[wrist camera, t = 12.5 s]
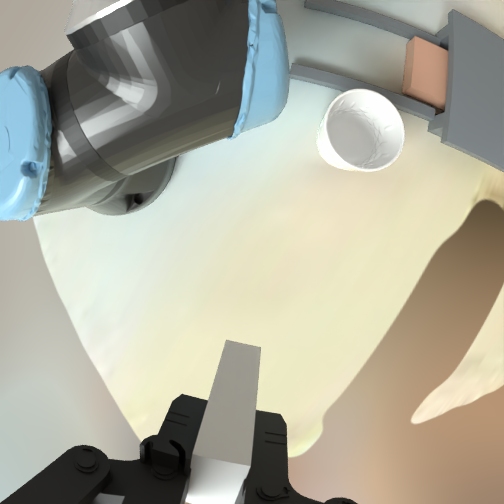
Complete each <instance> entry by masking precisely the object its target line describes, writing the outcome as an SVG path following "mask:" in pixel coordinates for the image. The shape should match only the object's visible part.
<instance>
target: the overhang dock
mask: <svg viewBox="0 0 504 504" xmlns="http://www.w3.org/2000/svg"><path fill="white" fill-rule="evenodd" d="M305 7H306V8H311V9H315V10H320V11H324V12H328V13H332V14H336V15H339V16H343V17H347V18H350V19H353V20H357V21H360V22H363V23H366V24H370V25H373V26H376V27H378V28H381V29H384V30H387V31H390V32H392V33H395V34H398V35H400V36H403V37H405V38H408V39H410V40H411V39H412V38H413V37H414V36H416V37H419V38H421V39H423V40H426V41H428V42H430V43H432V44H434V45H437V46H439V47H441V48H443V49H445V50H447V51H448V76H447V91H446V103H445V112H444V113H441V114H438V115H436V116H435V109H434V108H432V107H430V106H427V105H425V104H423V103H420V102H418V101H415V100H413V99H410V98H408V97H405V96H402V95H400V94H397V93H394V92H392V91H389V90H386V89H383V88H380V87H377V86H374V85H371V84H368V83H365V82H362V81H359V80H355V79H352V78H349V77H345V76H342V75H338V74H334V73H331V72H327V71H323V70H319V69H315V68H311V67H306V66H302V65H297V64H293V63H292V66H291V70H290V75H289V78H292V79H297V80H301V81H305V82H310V83H314V84H318V85H322V86H326V87H329V88H333V89H337V90H340V91H344V92H346V91H348V90H352V89H368V90H372V91H375V92H377V93H379V94H381V95H383V96H384V97H386V98H387V99H388V100H389V101H390V102H391V103H392V104H393V105H394V106H395V107H396V108H397V109H399V110H402V111H405V112H407V113H410V114H413V115H415V116H418V117H420V118H423V119H425V120H428V121H429V126H428V132H430V133H433V134H435V135H437V136H440V137H441V143H443V144H446V145H448V146H450V147H453V148H455V149H457V150H459V151H462V152H464V153H466V154H468V155H470V156H472V157H474V158H476V159H478V160H481V161H483V162H485V163H487V164H489V165H490V166H492V167H494V168H496V169H498V170H500V171H502V172H504V39H502V38H501V37H499V36H498V35H496V34H494V33H493V32H491V31H490V30H488V29H487V28H485V27H483V26H482V25H480V24H478V23H477V22H475V21H473V20H472V19H470V18H468V17H466V16H464V15H463V14H461V13H459V12H457V11H455V10H451V11H450V12H449V13H448V25H446V26H445V27H444V28H443V29H442V30H440V31H439V32H438V33H437V34H436V37H435V36H433V35H431V34H429V33H427V32H424V31H422V30H420V29H417V28H415V27H413V26H410V25H408V24H405V23H403V22H400V21H398V20H395V19H392V18H390V17H387V16H384V15H381V14H378V13H376V12H373V11H370V10H366V9H363V8H360V7H357V6H353V5H350V4H346V3H343V2H339V1H335V0H306V2H305Z"/></svg>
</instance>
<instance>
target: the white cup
mask: <svg viewBox="0 0 504 504" xmlns="http://www.w3.org/2000/svg"><path fill="white" fill-rule="evenodd" d="M404 141H405V129H404V124H403V120H402V118H401V116H400V114H399V112H398V110H397V109H396V107H395V106H394V105H393V104H392V103H391V102H390V101H389V100H388V99H387V98H386V97H384V96H383V95H381V94H379V93H377V92H375V91H372V90H368V89H352V90H348V91H346V92H344V93H342V94H340V95H339V96H337V97H336V98H335V99H334V100H333V101H332V103H331V104H330V105H329V107H328V109H327V111H326V113H325V115H324V117H323V119H322V121H321V123H320V126H319V129H318V133H317V138H316V143H317V147H318V150H319V154H320V155H321V156H322V157H323V158H324V160H325V161H326V162H327V163H328V164H330V165H332V166H334V167H336V168H338V169H345V170H352V171H377V170H381V169H383V168H386V167H387V166H389V165H391V164H392V163H393V162H394V161H395V160H396V159H397V158H398V156H399V155H400V153H401V151H402V149H403V146H404Z"/></svg>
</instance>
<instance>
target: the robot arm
mask: <svg viewBox="0 0 504 504" xmlns="http://www.w3.org/2000/svg"><path fill="white" fill-rule="evenodd" d="M64 32H65V34H66V36H67V37H68V39H69V41H70V42H71V44H72V46H73V47H74V50H72V51H71V52H69V53H68V54H66V55H65V56H63V57H62V58H60V59H58V60H57V61H56V62H54V63H53V64H51V65H50V66H48V67H47V68H46V69H44V70H41V71H37V70H35V69H34V68H33V67H31V66H22V67H10V68H7V69H6V70H4V71H2V72H0V220H5V221H6V220H15V219H16V220H19V221H23V220H28V219H30V218H31V217H33V216H38V215H43V214H48V213H53V212H58V211H64V210H69V209H75V208H80V207H87V208H89V209H91V210H93V211H96V212H98V213H101V214H105V215H124V214H129V213H133V212H136V211H139V210H141V209H143V208H145V207H146V206H148V205H149V204H151V203H152V202H153V201H154V200H155V199H156V198H157V197H158V196H159V195H160V194H161V193H162V191H163V190H164V188H165V187H166V185H167V183H168V181H169V179H170V177H171V174H172V171H173V168H174V163H175V157H176V156H178V155H181V154H184V153H186V152H189V151H191V150H194V149H197V148H199V147H202V146H205V145H207V144H210V143H213V142H216V141H219V140H221V139H224V138H227V139H228V140H231V139H234V138H236V137H237V136H238V135H239V134H240V133H242V132H245V131H247V130H250V129H253V128H256V127H258V126H261V125H264V124H267V123H269V122H271V121H273V120H275V119H276V118H277V117H278V116H279V114H280V113H281V112H282V110H283V109H284V107H285V105H286V103H287V99H288V93H289V59H288V50H287V44H286V37H285V32H284V28H283V23H282V20H281V17H280V15H278V14H277V7H276V2H275V0H73V6H72V9H71V12H70V15H69V18H68V21H67V24H66V27H65V31H64ZM260 353H261V347H257V346H252V345H247V344H243V343H238V342H234V341H229V340H226V342H225V346H224V349H223V352H222V356H221V359H220V362H219V366H218V369H217V373H216V376H215V379H214V383H213V386H212V389H211V393H210V396H209V399H208V400H204V399H200V398H196V397H192V396H188V395H184V394H181V395H180V396H179V397H177V398H176V399H175V400H173V401H172V404H171V406H170V408H169V410H168V413H167V415H166V417H165V420H164V421H163V424H162V426H161V428H160V430H159V433H158V435H152V436H150V437H148V438H145V439H144V440H143V441H142V443H141V444H140V459H137V460H133V461H122V460H113V459H108V457H107V456H106V455H105V454H104V453H103V452H102V451H101V450H99V449H97V448H95V447H93V446H87V445H80V446H74V447H73V448H71V449H69V450H67V451H66V452H65V453H64V454H62V455H61V456H60V457H59V458H57V459H56V460H55V461H54V462H52V463H51V464H50V465H49V466H47V467H46V468H45V469H44V470H42V471H41V472H40V473H38V474H37V475H36V476H35V477H33V478H32V479H31V480H29V481H28V482H27V483H26V484H24V485H23V486H22V487H20V488H19V489H18V490H17V491H16V492H14V493H13V494H11V495H10V496H9V497H7V498H6V499H5V500H3V501H2V502H1V503H0V504H185V502H189V503H192V504H357V503H356V502H354V501H353V500H351V499H347V498H332V499H330V500H327V501H326V502H325V503H322V502H319V501H315V500H312V499H309V498H307V497H304V496H302V495H300V494H299V493H297V492H296V491H295V490H294V489H293V488H292V486H291V484H290V483H289V479H288V453H287V424H286V423H285V421H284V419H283V418H282V416H281V414H277V413H271V412H265V411H259V410H256V401H257V390H258V378H259V365H260Z"/></svg>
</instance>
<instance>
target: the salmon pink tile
mask: <svg viewBox="0 0 504 504" xmlns="http://www.w3.org/2000/svg"><path fill="white" fill-rule="evenodd" d="M447 76H448V51H447V50H445V49H443V48H441V47H439V46H437V45H434V44H432V43H430V42H428V41H426V40H423V39H421V38H419V37H416V36H414V37H413V38H412V39H411V40H410V41H409V42H408V43H407V48H406V60H405V70H404V79H403V88H402V93H403V94H406V95H409V96H411V97H414V98H416V99H419V100H421V101H423V102H426V103H428V104H431V105H433V106H435V107H437V108H440V109H442V110H444V111H445V103H446V91H447Z"/></svg>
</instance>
